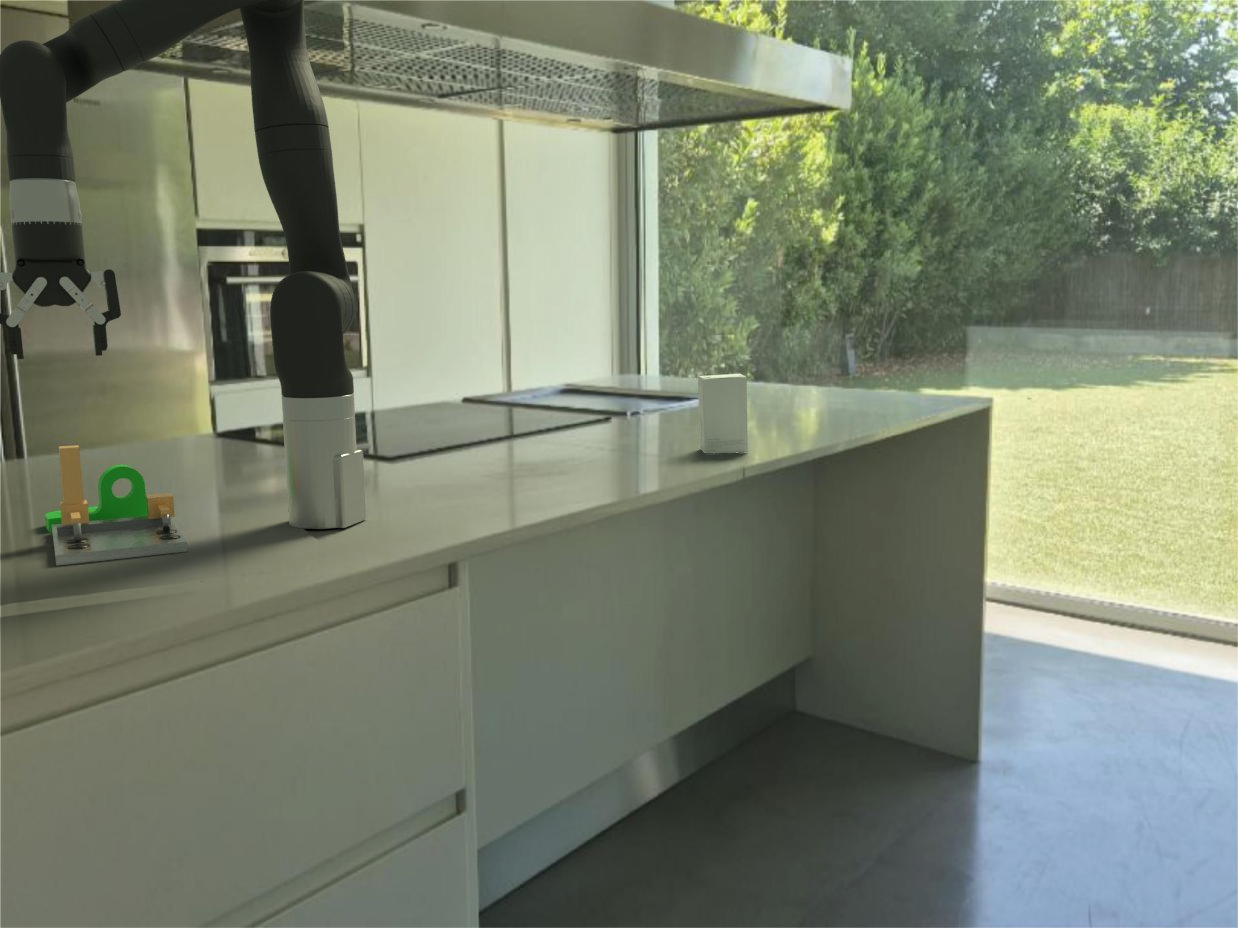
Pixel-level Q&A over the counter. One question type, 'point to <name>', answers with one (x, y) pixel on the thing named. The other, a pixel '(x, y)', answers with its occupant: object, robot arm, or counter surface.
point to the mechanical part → (113, 498)
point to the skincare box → (723, 413)
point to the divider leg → (72, 490)
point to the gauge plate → (122, 535)
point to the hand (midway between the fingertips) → (60, 357)
